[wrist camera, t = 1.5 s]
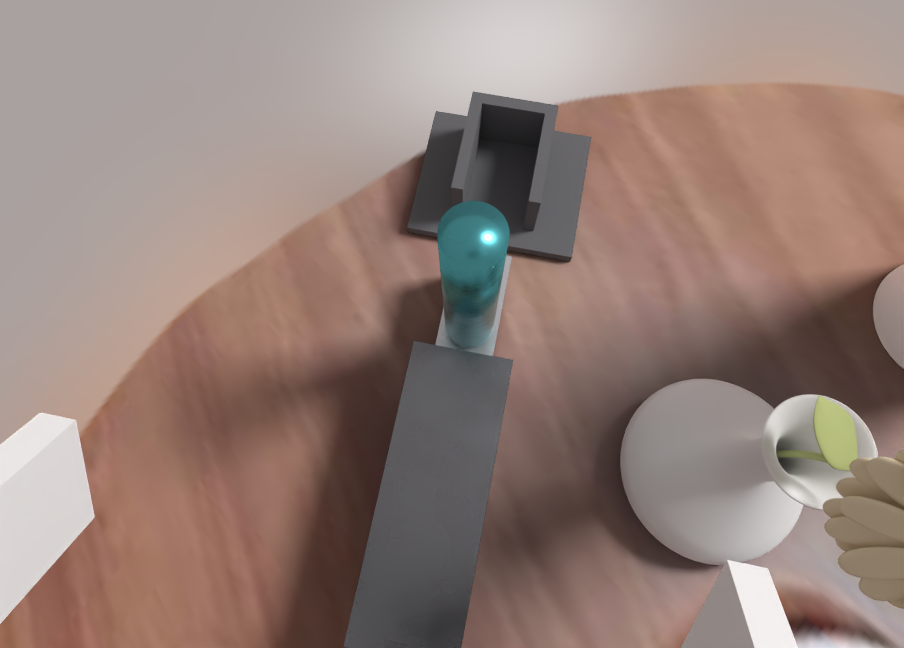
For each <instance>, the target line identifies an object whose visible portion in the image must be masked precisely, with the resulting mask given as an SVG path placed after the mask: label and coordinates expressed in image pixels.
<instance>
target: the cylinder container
mask: <svg viewBox="0 0 904 648" xmlns="http://www.w3.org/2000/svg"><path fill="white" fill-rule="evenodd" d="M873 319H874V324H875V329H876V332H877V334H878V337H879V339H880V341H881V343H882V345H883V346H884V348H885V349H886V351H887V352H888V354H889V355H890V356H891V357H892V358H893V360H894V361H895V362H896V363H897V364H898V365H899V366H900V367H902V368H903V369H904V264H903V265H901V266H899V267H897V268H896V269H894V270H893V271H892V272H890V273H889V274H888V275H887V276H886V277H885V278H884V279H883V281H882V282H881V283H880V285H879V287H878V289H877V291H876V294H875V298H874V302H873Z"/></svg>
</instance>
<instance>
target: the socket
mask: <svg viewBox="0 0 904 648" xmlns="http://www.w3.org/2000/svg"><path fill="white" fill-rule="evenodd" d="M557 111H558V106H557V105H551V104H545V103H539V102H533V101H526V100H520V99H514V98H509V97H502V96H496V95H490V94H484V93H478V92H473V94H472V98H471V103H470V107H469V111H468V116H462V115H456V114H450V113H444V112H438V111H436V113H435V117H434V121H433V125H432V129H431V134H430V138H429V141H428V145H427V149H426V153H425V157H424V162H423V166H422V170H421V174H420V178H419V182H418V186H417V190H416V194H415V198H414V202H413V206H412V210H411V214H410V218H409V222H408V226H407V229H408V232H410V233H415V234H421V235H426V236H432V237H437V230H438V225H439V222H440V220H441V218H442V217H443V215H444V214H445V213H446V212H447V211H448V210H449V209H450V208H452V207H453V206H455V205H457V204H459V203H462V202H466V201H481V202H485V203H488V204H490V205H492V206H494V207H495V208H497V209H498V210H499V211H500V212H501V213H502V214H503V216H504V217H505V219H506V221H507V223H508V226H509V232H510V236H509V243H508V248H507V250H509V251H514V252H520V253H525V254H531V255H536V256H542V257H547V258H553V259H558V260H564V261H569V262H570V260H571V258H572V253H573V247H574V241H575V234H576V228H577V222H578V216H579V210H580V203H581V197H582V191H583V185H584V178H585V172H586V166H587V160H588V153H589V147H590V141H591V137H588V136H582V135H576V134H570V133H564V132H558V131H554V127H555V122H556V116H557Z"/></svg>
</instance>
